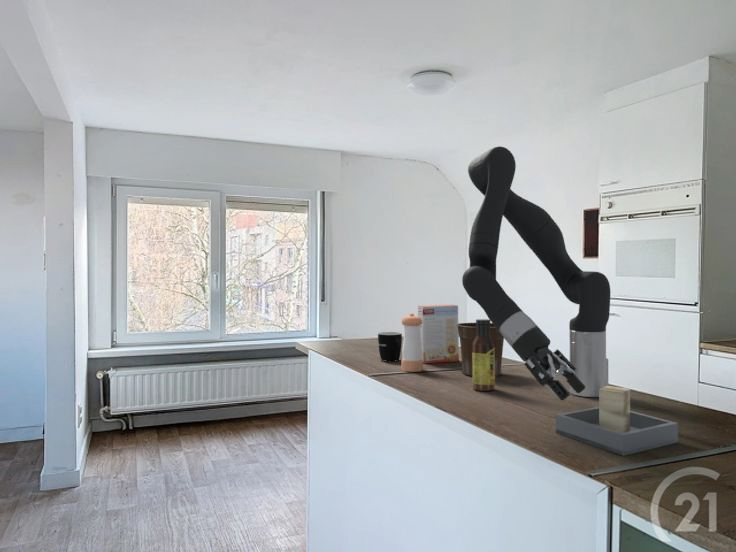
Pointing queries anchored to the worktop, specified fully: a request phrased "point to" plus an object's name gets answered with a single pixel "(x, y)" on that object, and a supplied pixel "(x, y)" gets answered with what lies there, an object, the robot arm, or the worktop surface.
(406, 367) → the pepper shaker
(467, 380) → the worktop surface
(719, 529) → the worktop surface
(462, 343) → the plant pot
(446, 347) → the cracker box
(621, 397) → the maple block
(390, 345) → the mug
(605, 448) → the box
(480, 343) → the sauce bottle
